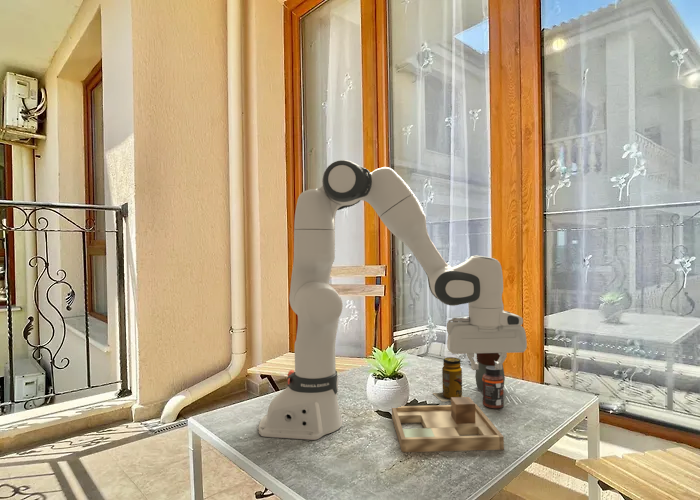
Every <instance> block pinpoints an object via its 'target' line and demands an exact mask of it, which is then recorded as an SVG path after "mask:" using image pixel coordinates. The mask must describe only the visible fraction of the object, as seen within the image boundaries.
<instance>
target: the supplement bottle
mask: <svg viewBox="0 0 700 500" xmlns="http://www.w3.org/2000/svg"><path fill="white" fill-rule="evenodd" d="M482 386H483V387H482V388H483V391H482V404H483V406H485V407H486V408H490V409H494V410H495V409H501V408H503V407H504V403H505V401H504V395H505V394H504V392H505V391H504V388H505V385H504V386H503V377H502V375H500V370H496V369H495V366H487V367H486V373H485V374H483V377H482Z"/></svg>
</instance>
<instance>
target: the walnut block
mask: <svg viewBox="0 0 700 500" xmlns="http://www.w3.org/2000/svg"><path fill="white" fill-rule="evenodd" d="M475 404H476V403H475V402H474V400H473V399H472V398H471V397H470V396H464V397H451V401H450V405H451V416H452V418H453V419H454V421H455V423H456V424H467V423H475Z"/></svg>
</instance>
